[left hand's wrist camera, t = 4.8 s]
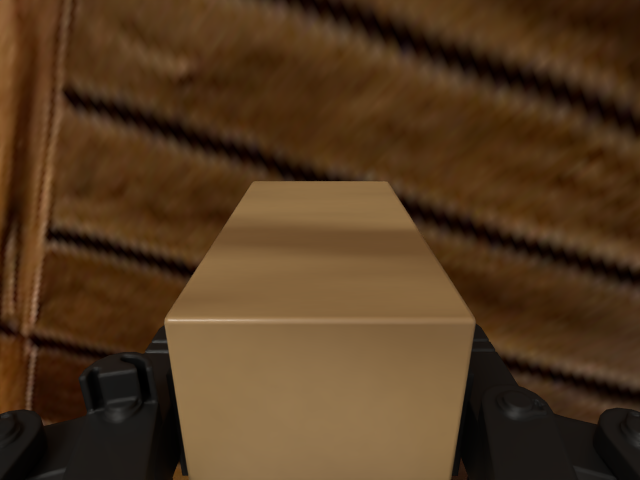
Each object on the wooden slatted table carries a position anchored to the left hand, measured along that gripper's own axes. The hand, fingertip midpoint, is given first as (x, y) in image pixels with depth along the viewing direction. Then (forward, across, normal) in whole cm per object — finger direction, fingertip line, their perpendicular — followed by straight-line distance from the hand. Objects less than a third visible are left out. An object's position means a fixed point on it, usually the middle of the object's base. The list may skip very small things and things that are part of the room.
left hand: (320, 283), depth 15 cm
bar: (+1, 0, -8) cm, 8 cm away
